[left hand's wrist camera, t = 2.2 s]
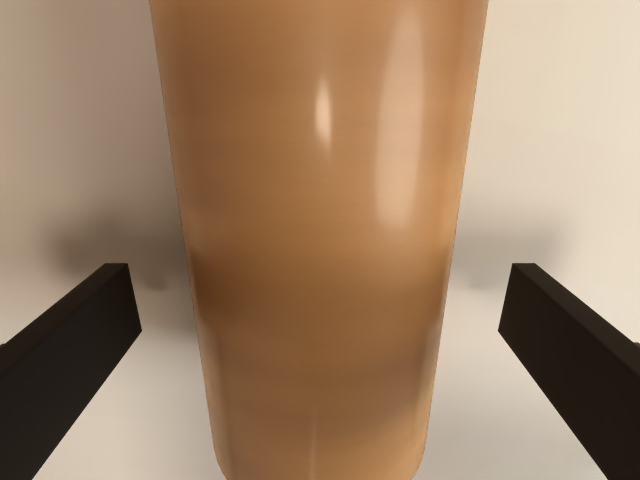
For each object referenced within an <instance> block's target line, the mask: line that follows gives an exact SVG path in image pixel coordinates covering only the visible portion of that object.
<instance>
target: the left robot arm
mask: <svg viewBox="0 0 640 480" xmlns="http://www.w3.org/2000/svg"><path fill="white" fill-rule="evenodd" d="M141 332H142V328H141V324H140V319H139V314H138V310H137V305H136V300H135V296H134V291H133V286H132V282H131V277H130V272H129V268H128V263H105V264H104V265H102V266H101V267H100V268H99V269H97V270H96V271H95V272H94V273H93V274H91V275H90V276H89V277H88V278H86V279H85V280H84V281H83V282H81V283H80V284H79V285H78V286H76V287H75V288H74V289H73V290H71V291H70V292H69V293H68V294H66V295H65V296H64V297H63V298H61V299H60V300H59V301H58V302H56V303H55V304H54V305H53V306H51V307H50V308H49V309H48V310H46V311H45V312H44V313H43V314H41V315H40V316H39V317H38V318H37V319H35V320H34V321H33V322H32V323H30V324H29V325H28V326H27V327H25V328H24V329H23V330H22V331H20V332H19V333H18V334H17V335H15V336H14V337H13V338H12V339H10V340H9V341H8V342H7V343H5V344H1V345H0V480H32V479H33V478H34V476H35V475H36V473H37V472H38V471H39V469H40V468H41V467H42V465H43V464H44V463H45V461H46V460H47V459H48V457H49V456H50V455H51V453H52V452H53V451H54V449H55V448H56V446H57V445H58V444H59V442H60V441H61V440H62V438H63V437H64V436H65V434H66V433H67V432H68V430H69V429H70V428H71V426H72V425H73V424H74V422H75V421H76V419H77V418H78V417H79V415H80V414H81V413H82V411H83V410H84V409H85V407H86V406H87V405H88V403H89V402H90V401H91V399H92V398H93V397H94V395H95V394H96V392H97V391H98V390H99V388H100V387H101V386H102V384H103V383H104V382H105V380H106V379H107V378H108V376H109V375H110V374H111V372H112V371H113V370H114V368H115V367H116V365H117V364H118V363H119V361H120V360H121V359H122V357H123V356H124V355H125V353H126V352H127V351H128V349H129V348H130V347H131V345H132V344H133V343H134V341H135V340H136V338H137V337H138V336H139V334H140V333H141ZM498 332H499V333H500V334H501V336H502V337H503V338H504V340H505V341H506V343H507V344H508V345H509V347H510V348H511V349H512V351H513V352H514V353H515V355H516V356H517V357H518V359H519V360H520V361H521V363H522V364H523V365H524V367H525V368H526V370H527V371H528V372H529V374H530V375H531V376H532V378H533V379H534V380H535V382H536V383H537V384H538V386H539V387H540V388H541V390H542V391H543V392H544V394H545V395H546V397H547V398H548V399H549V401H550V402H551V403H552V405H553V406H554V407H555V409H556V410H557V411H558V413H559V414H560V415H561V417H562V418H563V419H564V421H565V422H566V424H567V425H568V426H569V428H570V429H571V430H572V432H573V433H574V434H575V436H576V437H577V438H578V440H579V441H580V442H581V444H582V445H583V446H584V448H585V449H586V451H587V452H588V453H589V455H590V456H591V457H592V459H593V460H594V461H595V463H596V464H597V465H598V467H599V468H600V469H601V471H602V472H603V473H604V475H605V476H606V478H607V479H608V480H640V343H638V342H632V341H631V340H630V339H628V338H627V337H626V336H625V335H623V334H622V333H621V332H620V331H618V330H617V329H616V328H615V327H613V326H612V325H611V324H610V323H608V322H607V321H606V320H605V319H603V318H602V317H601V316H600V315H599V314H597V313H596V312H595V311H594V310H592V309H591V308H590V307H589V306H587V305H586V304H585V303H584V302H582V301H581V300H580V299H579V298H577V297H576V296H575V295H574V294H572V293H571V292H570V291H569V290H567V289H566V288H565V287H564V286H562V285H561V284H560V283H559V282H557V281H556V280H555V279H554V278H552V277H551V276H550V275H549V274H547V273H546V272H545V271H544V270H543V269H541V268H540V267H539V266H538V265H536V264H535V263H512V268H511V272H510V277H509V282H508V286H507V291H506V296H505V300H504V305H503V310H502V314H501V319H500V324H499V328H498Z"/></svg>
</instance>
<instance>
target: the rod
mask: <svg viewBox="0 0 640 480" xmlns="http://www.w3.org/2000/svg"><path fill="white" fill-rule="evenodd" d="M488 1H489V0H149V2H150V9H151V16H152V23H153V30H154V37H155V44H156V51H157V58H158V65H159V72H160V78H161V85H162V92H163V99H164V106H165V113H166V120H167V127H168V134H169V141H170V148H171V155H172V161H173V168H174V175H175V182H176V189H177V196H178V203H179V210H180V217H181V224H182V231H183V238H184V244H185V251H186V258H187V265H188V272H189V279H190V286H191V293H192V300H193V307H194V314H195V321H196V327H197V334H198V341H199V348H200V355H201V362H202V369H203V376H204V383H205V390H206V397H207V404H208V410H209V417H210V424H211V431H212V438H213V445H214V450H215V454H216V458H217V462H218V464H219V466H220V468H221V471H222V473H223V474H224V476H225V477H226V479H227V480H412V478H413V477H414V475H415V474H416V472H417V469H418V467H419V465H420V463H421V461H422V457H423V453H424V449H425V442H426V435H427V428H428V421H429V414H430V407H431V400H432V393H433V386H434V379H435V372H436V365H437V358H438V351H439V344H440V337H441V330H442V323H443V316H444V309H445V302H446V295H447V288H448V281H449V274H450V267H451V260H452V253H453V246H454V239H455V232H456V225H457V218H458V211H459V204H460V197H461V190H462V183H463V176H464V169H465V162H466V155H467V148H468V141H469V134H470V127H471V120H472V113H473V106H474V99H475V92H476V85H477V78H478V71H479V64H480V57H481V50H482V43H483V36H484V29H485V22H486V15H487V8H488Z"/></svg>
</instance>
